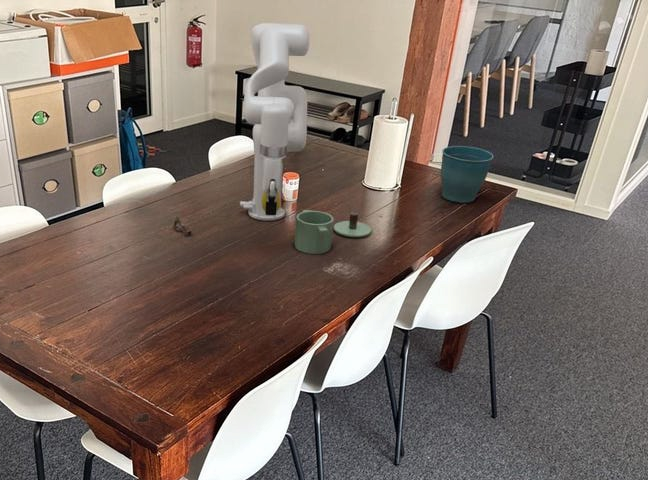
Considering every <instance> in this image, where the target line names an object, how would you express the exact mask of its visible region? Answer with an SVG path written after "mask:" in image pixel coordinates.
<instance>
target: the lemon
mask: <svg viewBox="0 0 648 480" xmlns="http://www.w3.org/2000/svg"><path fill="white" fill-rule="evenodd" d="M269 191H270V190H269ZM269 196H270V194H269ZM274 196H275V195H274ZM266 201H267V192H265V193H264V195H263V197H262V208H263V210H264V211H266ZM276 202H277V210H278V209H279V207H280V196H279V194H278V193H277V196H276ZM277 210H276V212H277Z"/></svg>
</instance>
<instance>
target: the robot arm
mask: <svg viewBox="0 0 648 480" xmlns="http://www.w3.org/2000/svg"><path fill="white" fill-rule="evenodd" d="M250 43H251V50H252V54H253V58H254V60H255V63H256V67H257V69H256V70H255V71H254V73H252V74H251V76H250V78H249V79H248V81H247V82H246V85H245V87H244V97H243V115H244V116H243V117H244V119H245V121H246V122H247V123H248V124H251V125H253V128H252V143H253V153H254V155H253V157H254V158H253V162H254V163H253V165H254V167H253V193H252V194H253V196H252V199H251V200H248V201H242V200H241V201H239V208H243V210H248V212H247V213H248V215H249V217H251V218H252V219H255V220H257V221H258V220H259V221H264V222H265V221H266V222H267V221H268V222H269V221H270V222H271V221H278V220H281V219H283V218H284V217H285V215H286V212H285V210H284V208H282V207H281V206H282V187H283V171H284V169H283V168H284V165H283V159H285V158H286V157H287V153H288V152H292V153H293V152H297V153H298V152H302V151H303V150H304V149H305V148H306V145H307V132H308V95H307V91H306V90H305V89H304V88H303V87H302V86H298V85H286V84H285V80H286V78H287V77H288V75H289V72H290V56H291V57H304V56H306V55H307V54H308V52H309V50H310V49H309V48H310V32H309V29H308V27H307V26H306V25H304V24H302V23H282V22H281V23H279V22H263V23H259V24H256V25H254V26H253V27H252V29H251V33H250ZM256 94H257V95H256ZM255 95H256V96H255ZM269 190H270V191H269ZM265 192H267V201H266V211H264V210H263V208H262V197H263V195H264V193H265ZM277 193H278V194H279V196H280V207H279V209H278V210H277V202H276V196H277ZM269 194H270V196H269ZM274 195H275V196H274ZM276 210H277V212H276Z"/></svg>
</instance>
